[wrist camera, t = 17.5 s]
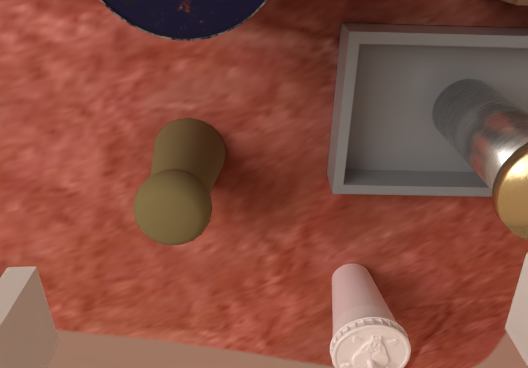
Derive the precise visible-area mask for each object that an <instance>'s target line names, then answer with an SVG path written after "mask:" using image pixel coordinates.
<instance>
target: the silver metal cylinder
mask: <svg viewBox="0 0 528 368" xmlns="http://www.w3.org/2000/svg"><path fill="white" fill-rule="evenodd" d="M432 118H433V122H434V125H435V127H436V128H437V130H438V131H439V132H440V133H441V134H442V135H443V137H444V138H445V139H446V140H447V141H448V142H449V143H450V144H451V146H452V147H453V148H454V149H455V150H456V151H457V152H458V153H459V154H460V156H461V157H462V158H463V159H464V160H465V161H466V162H467V163H468V165H469V166H470V167H471V168H472V169H473V170H474V171H475V172H476V173H477V175H478V176H479V177H480V178H481V179H482V180H483V181H484V182H485V184H486V185H487V186H488V187H489V188H490V189H491V190H492V204H493V207H494V210H495V212H496V214H497V215H498V217H499V218H500V219H501V220H502V222H503V223H504V224H505V225H506V226H507V228H508V229H509V230H510V231H511V232H513V233H514V234H516V235H517V236H519V237H521V238H523V239H526V240H528V112H527V111H525V110H524V109H522V108H521V107H519V106H518V105H516V104H515V103H513V102H512V101H510V100H509V99H508V98H506V97H505V96H503V95H502V94H500V93H499V92H497V91H496V90H494V89H493V88H491V87H490V86H488V85H487V84H485V83H484V82H482V81H479V80H475V79H464V80H460V81H457V82H455V83H453V84H451V85H449V86H448V87H447V88H445V89H444V90H443V91H442V92H441V93H440V95H439V96H438V97H437V99H436V101H435V103H434V106H433V111H432Z"/></svg>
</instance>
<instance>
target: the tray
mask: <svg viewBox="0 0 528 368" xmlns="http://www.w3.org/2000/svg"><path fill="white" fill-rule="evenodd" d="M464 79H475V80H479V81H482V82H484V83H485V84H487V85H488V86H490V87H491V88H493V89H494V90H496V91H497V92H499V93H500V94H502V95H503V96H505V97H506V98H508V99H509V100H510V101H512V102H513V103H515V104H516V105H518V106H519V107H521V108H522V109H524V110H525V111H527V112H528V28H521V27H483V26H446V25H409V24H371V23H341V32H340V43H339V53H338V64H337V74H336V84H335V95H334V105H333V116H332V126H331V137H330V147H329V158H328V168H327V177H328V180H329V184H330V187H331V191H332V194H376V195H430V196H485V197H492V190H491V189H490V188H489V187H488V186H487V185H486V184H485V182H484V181H483V180H482V179H481V178H480V177H479V176H478V175H477V173H476V172H475V171H474V170H473V169H472V168H471V167H470V166H469V165H468V163H467V162H466V161H465V160H464V159H463V158H462V157H461V156H460V154H459V153H458V152H457V151H456V150H455V149H454V148H453V147H452V146H451V144H450V143H449V142H448V141H447V140H446V139H445V138H444V137H443V135H442V134H441V133H440V132H439V131H438V130H437V128H436V127H435V125H434V122H433V118H432V111H433V106H434V103H435V101H436V99H437V97H438V96H439V95H440V93H441V92H442V91H443V90H444V89H445V88H447V87H448V86H449V85H451V84H453V83H455V82H457V81H460V80H464Z"/></svg>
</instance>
